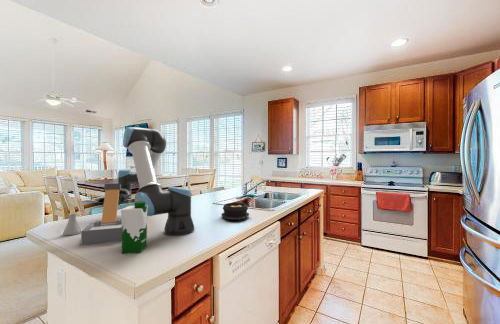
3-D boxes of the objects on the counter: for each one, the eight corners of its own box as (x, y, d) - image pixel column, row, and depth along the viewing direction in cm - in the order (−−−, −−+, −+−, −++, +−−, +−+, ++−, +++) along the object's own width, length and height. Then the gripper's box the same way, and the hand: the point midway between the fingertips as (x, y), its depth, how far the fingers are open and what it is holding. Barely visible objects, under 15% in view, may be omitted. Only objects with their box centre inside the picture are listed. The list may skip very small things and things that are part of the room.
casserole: (250, 222, 138) (250, 208, 138) (220, 222, 137) (220, 208, 137) (248, 212, 163) (248, 201, 163) (222, 213, 162) (222, 201, 162)
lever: (101, 224, 110) (105, 185, 118) (117, 222, 112) (121, 185, 121) (99, 222, 108) (104, 183, 116) (116, 221, 110) (120, 183, 119)
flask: (71, 236, 110) (71, 216, 110) (59, 235, 112) (59, 215, 112) (84, 232, 117) (84, 212, 117) (73, 231, 119) (73, 212, 119)
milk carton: (141, 254, 90) (141, 204, 90) (117, 254, 90) (118, 204, 90) (149, 245, 99) (149, 200, 99) (127, 246, 98) (128, 200, 98)
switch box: (91, 234, 113) (91, 218, 113) (131, 231, 119) (131, 215, 119) (81, 244, 100) (81, 226, 100) (127, 239, 106) (127, 222, 106)
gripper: (133, 200, 146) (127, 208, 124) (109, 201, 141) (99, 209, 119) (133, 189, 146) (127, 194, 124) (109, 189, 141) (99, 195, 119)
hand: (113, 201), depth 121 cm, fingers closed
